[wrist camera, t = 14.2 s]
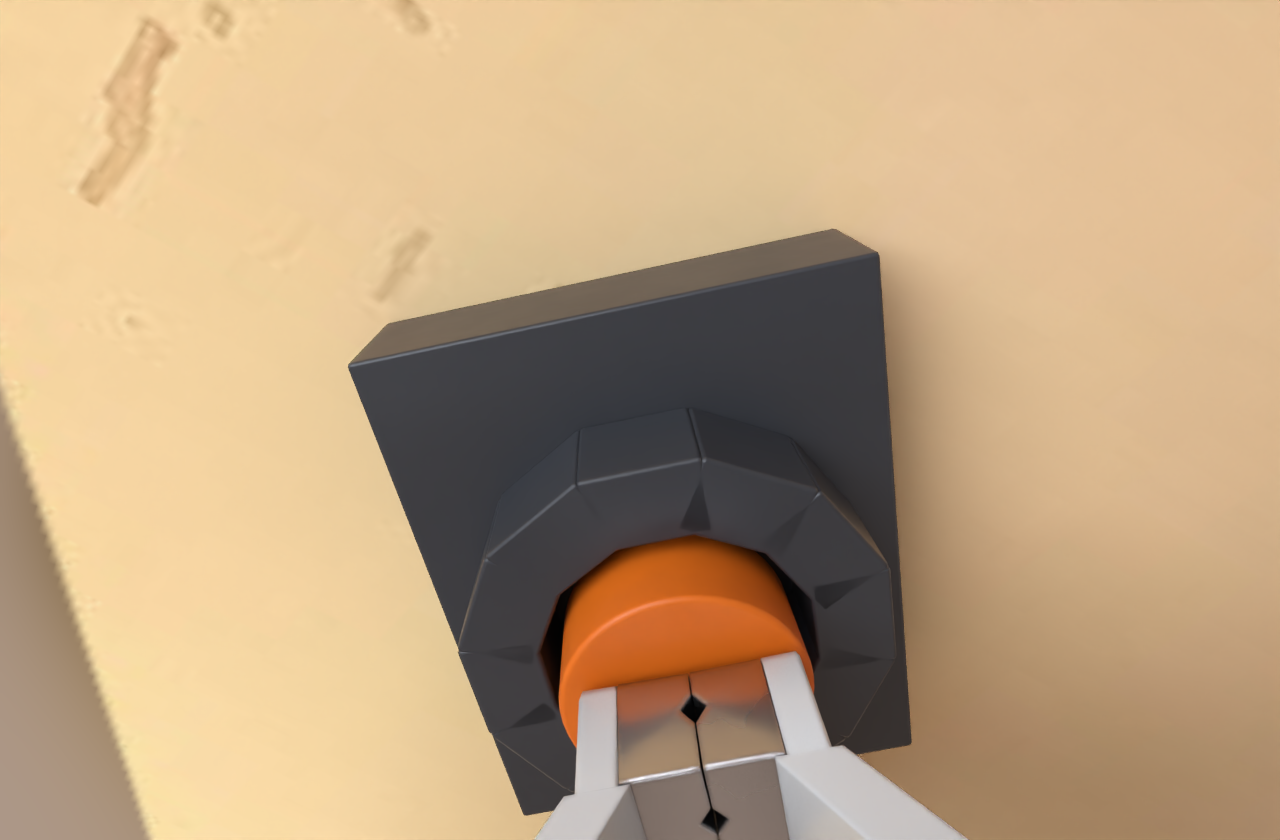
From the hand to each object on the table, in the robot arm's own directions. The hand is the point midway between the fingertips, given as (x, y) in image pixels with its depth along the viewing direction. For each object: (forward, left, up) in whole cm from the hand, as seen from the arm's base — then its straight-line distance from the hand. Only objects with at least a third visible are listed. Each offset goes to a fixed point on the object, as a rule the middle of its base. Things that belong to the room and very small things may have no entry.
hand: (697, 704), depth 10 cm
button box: (0, 0, -5) cm, 5 cm away
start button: (0, 0, -2) cm, 2 cm away
